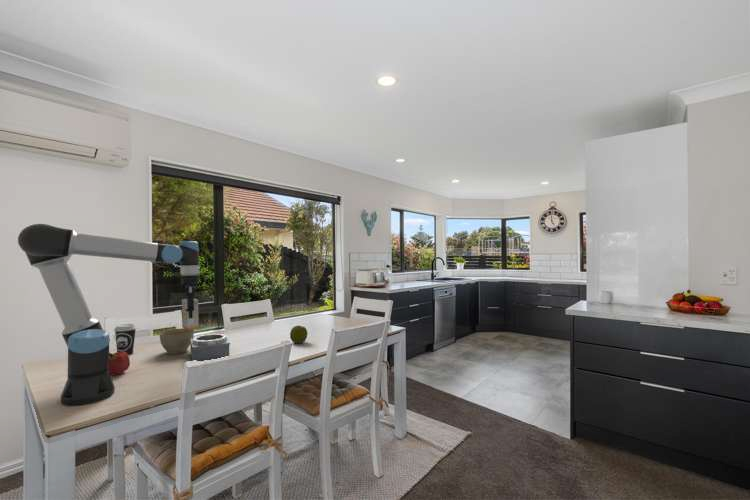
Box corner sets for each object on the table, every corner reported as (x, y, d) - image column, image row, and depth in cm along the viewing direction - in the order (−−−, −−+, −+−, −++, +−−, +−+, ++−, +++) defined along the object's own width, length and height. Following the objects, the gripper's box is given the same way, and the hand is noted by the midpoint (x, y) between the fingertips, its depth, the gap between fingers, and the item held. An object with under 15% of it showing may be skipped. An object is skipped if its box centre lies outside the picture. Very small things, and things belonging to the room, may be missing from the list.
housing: (229, 359, 172) (230, 338, 172) (192, 364, 163) (192, 343, 163) (224, 349, 189) (224, 330, 190) (189, 353, 181) (189, 334, 181)
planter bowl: (185, 346, 195) (185, 326, 195) (199, 351, 186) (200, 330, 186) (153, 352, 182) (153, 332, 182) (167, 358, 172) (167, 336, 173)
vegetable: (101, 380, 142) (101, 356, 142) (96, 374, 149) (96, 351, 149) (132, 373, 150) (132, 350, 151) (126, 368, 157) (127, 346, 158)
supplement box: (199, 328, 159) (198, 299, 159) (187, 329, 155) (187, 300, 155) (192, 325, 165) (192, 297, 164) (181, 327, 161) (181, 299, 161)
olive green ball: (287, 344, 200) (287, 325, 200) (293, 340, 209) (294, 322, 209) (303, 345, 198) (303, 326, 198) (309, 341, 208) (309, 323, 208)
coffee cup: (139, 353, 180) (140, 324, 180) (118, 358, 172) (119, 328, 172) (131, 350, 185) (131, 322, 185) (110, 355, 177) (110, 325, 177)
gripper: (200, 275, 152) (200, 326, 152) (197, 272, 171) (198, 318, 171) (180, 276, 149) (181, 328, 149) (180, 273, 167) (180, 320, 167)
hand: (190, 323), depth 160 cm, fingers closed on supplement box, 9 cm apart
